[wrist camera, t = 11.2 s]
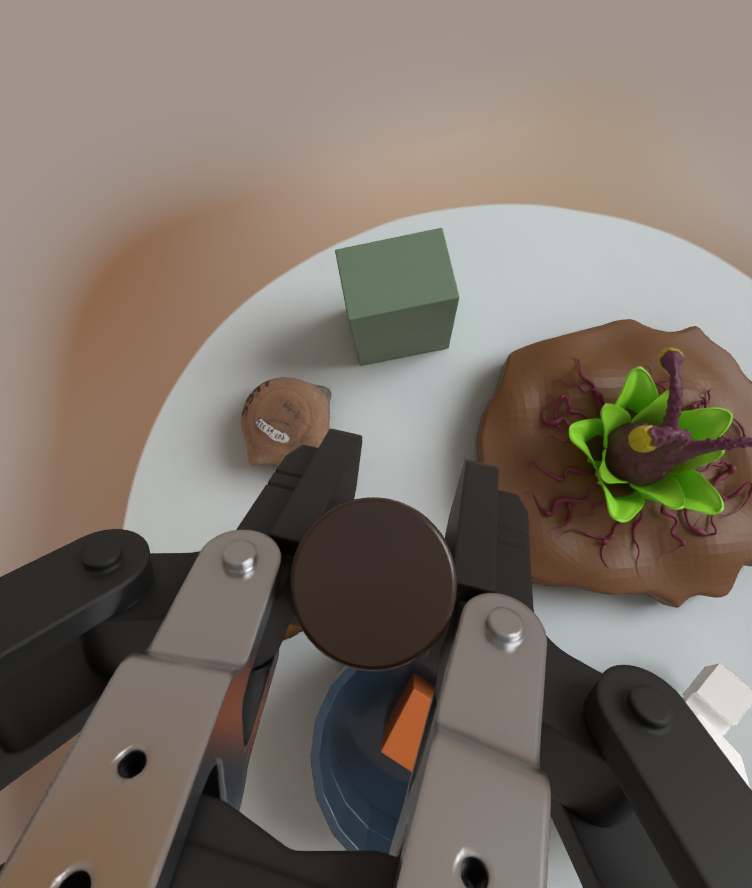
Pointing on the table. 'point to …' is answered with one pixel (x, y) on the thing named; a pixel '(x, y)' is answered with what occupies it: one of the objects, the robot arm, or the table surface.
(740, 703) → the perfume bottle
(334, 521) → the brown cylindrical peg
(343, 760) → the bowl
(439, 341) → the stand
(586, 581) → the plant
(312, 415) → the oil lamp
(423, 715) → the block
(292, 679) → the table surface
